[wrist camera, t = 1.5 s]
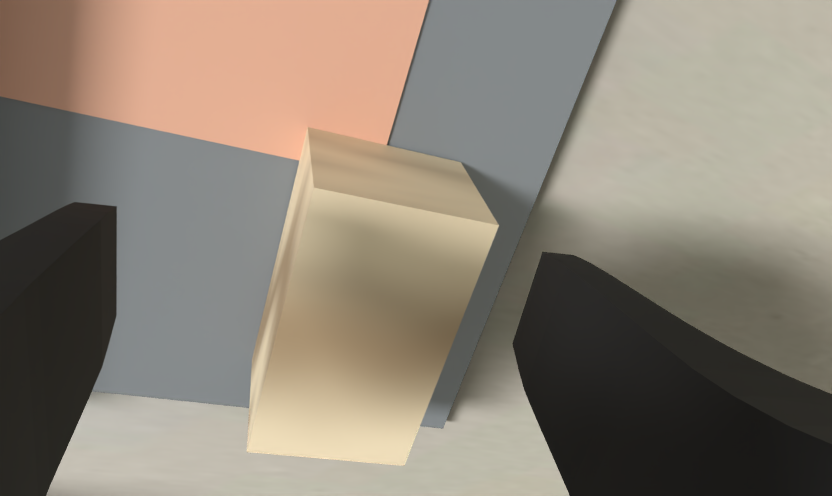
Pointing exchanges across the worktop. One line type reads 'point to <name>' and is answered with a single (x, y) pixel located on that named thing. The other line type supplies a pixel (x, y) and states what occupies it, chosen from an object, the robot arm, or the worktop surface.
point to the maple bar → (363, 299)
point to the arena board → (266, 145)
